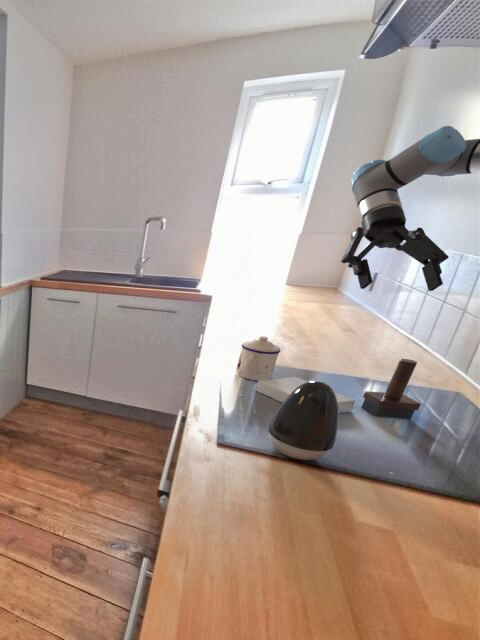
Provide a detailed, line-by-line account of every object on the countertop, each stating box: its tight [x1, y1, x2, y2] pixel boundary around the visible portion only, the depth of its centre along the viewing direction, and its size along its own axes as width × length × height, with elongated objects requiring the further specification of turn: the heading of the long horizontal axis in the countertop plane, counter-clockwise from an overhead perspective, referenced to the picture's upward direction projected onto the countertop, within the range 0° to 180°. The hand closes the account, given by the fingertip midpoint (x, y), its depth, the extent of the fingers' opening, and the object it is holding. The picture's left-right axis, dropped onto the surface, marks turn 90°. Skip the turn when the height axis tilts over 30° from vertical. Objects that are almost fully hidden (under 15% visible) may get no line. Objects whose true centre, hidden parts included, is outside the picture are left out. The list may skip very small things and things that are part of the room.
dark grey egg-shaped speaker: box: [267, 380, 339, 461], centre depth 78 cm, size 10×10×15 cm
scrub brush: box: [361, 358, 422, 420], centre depth 94 cm, size 8×6×13 cm
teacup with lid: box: [235, 335, 281, 382], centre depth 115 cm, size 12×9×12 cm
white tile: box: [255, 376, 356, 413], centre depth 103 cm, size 15×12×3 cm
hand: (400, 286), depth 96 cm, fingers open, 13 cm apart
